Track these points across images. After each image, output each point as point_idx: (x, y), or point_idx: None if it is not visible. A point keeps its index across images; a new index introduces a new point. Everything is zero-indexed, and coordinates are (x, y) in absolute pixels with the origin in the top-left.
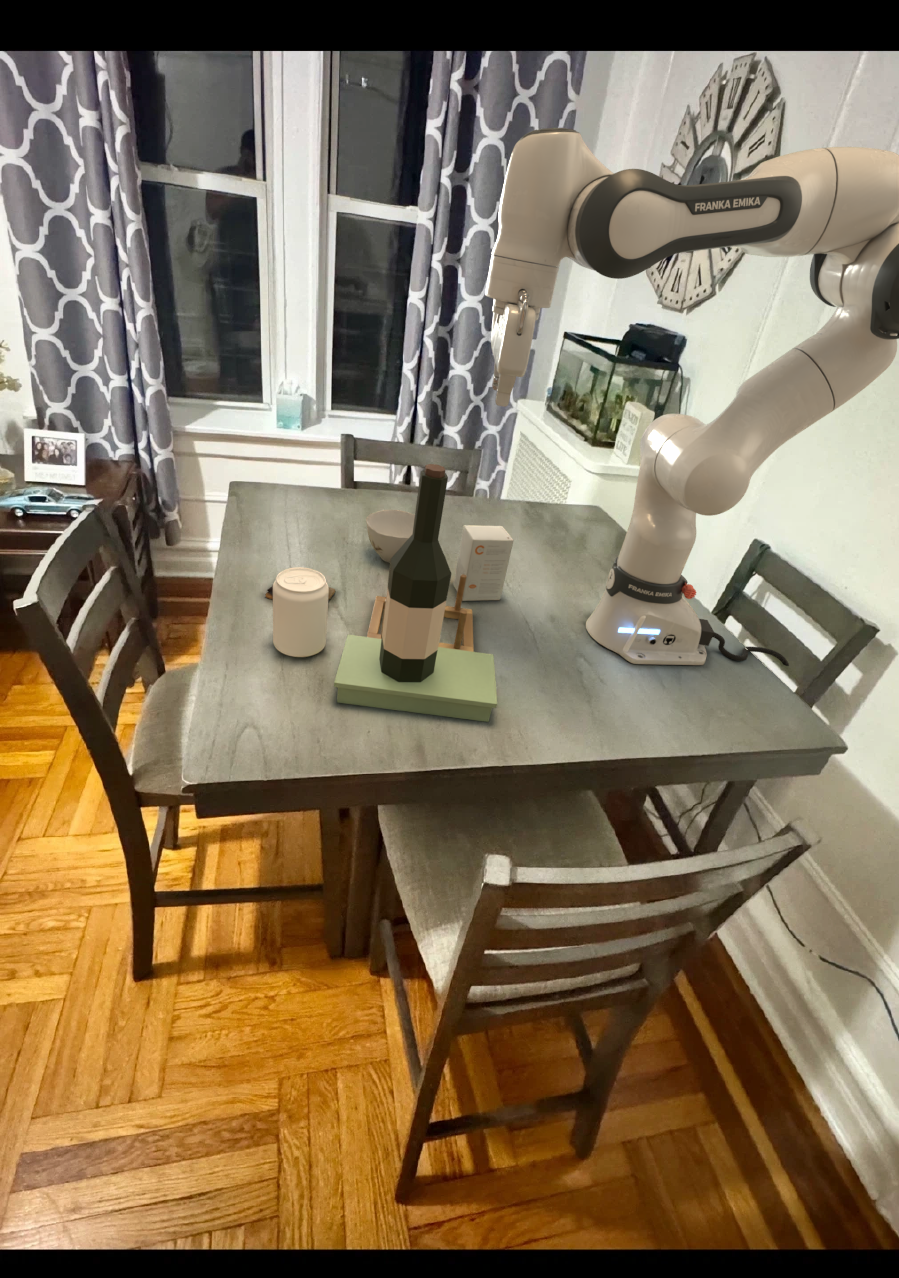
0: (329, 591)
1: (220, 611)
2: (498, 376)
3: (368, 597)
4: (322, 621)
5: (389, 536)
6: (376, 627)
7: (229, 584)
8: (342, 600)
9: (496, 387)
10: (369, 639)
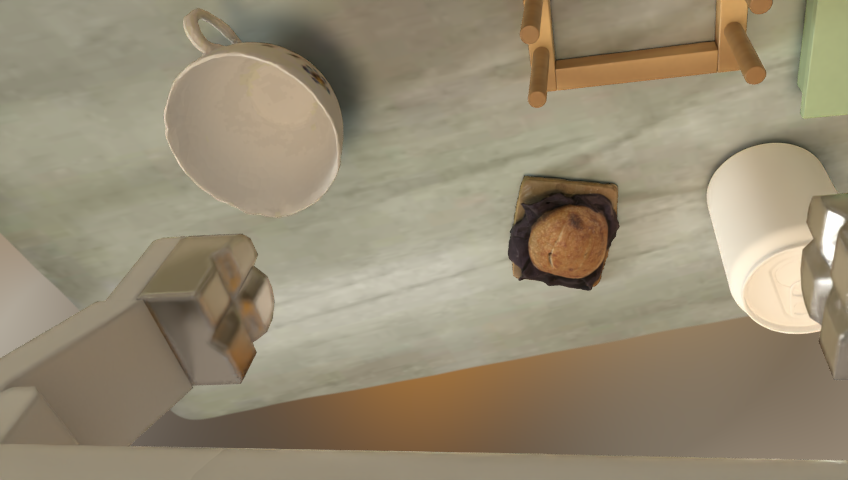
0: (539, 188)
1: (672, 328)
2: (172, 357)
3: (514, 104)
4: (818, 187)
5: (339, 144)
6: (689, 58)
7: (572, 341)
8: (551, 153)
9: (258, 296)
10: (820, 66)
